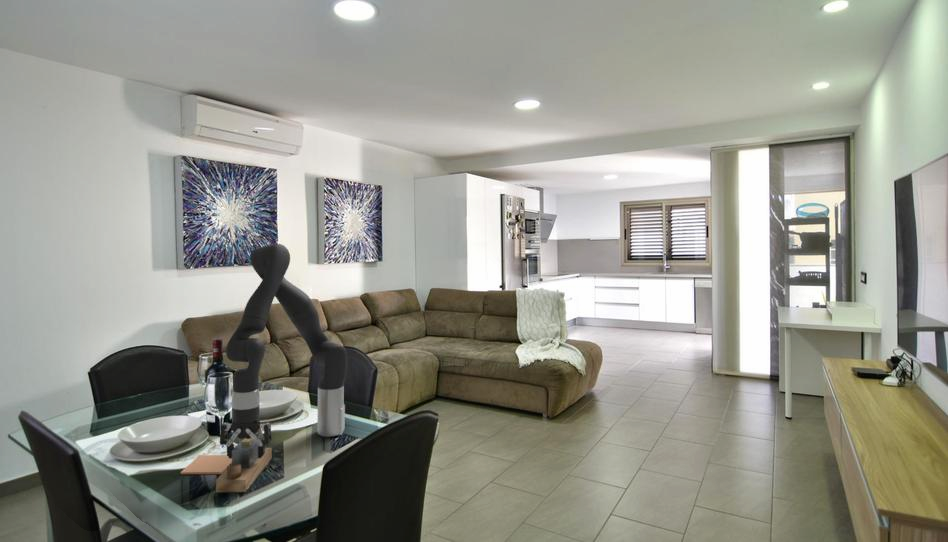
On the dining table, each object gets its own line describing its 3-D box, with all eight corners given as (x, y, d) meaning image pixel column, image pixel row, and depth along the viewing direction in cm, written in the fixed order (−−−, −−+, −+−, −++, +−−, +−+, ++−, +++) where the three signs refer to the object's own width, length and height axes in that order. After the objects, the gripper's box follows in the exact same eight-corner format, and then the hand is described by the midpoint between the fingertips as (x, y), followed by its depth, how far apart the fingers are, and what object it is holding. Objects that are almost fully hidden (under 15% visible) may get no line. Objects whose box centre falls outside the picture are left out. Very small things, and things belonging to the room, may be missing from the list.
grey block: (259, 456, 156) (259, 436, 155) (249, 468, 148) (249, 446, 147) (242, 456, 155) (242, 436, 155) (231, 468, 147) (231, 446, 147)
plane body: (271, 458, 163) (271, 438, 162) (245, 492, 141) (245, 469, 141) (246, 458, 162) (246, 438, 162) (216, 492, 140) (215, 469, 140)
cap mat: (237, 456, 163) (237, 455, 163) (221, 474, 151) (221, 472, 151) (199, 457, 162) (199, 455, 162) (180, 474, 150) (180, 472, 150)
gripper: (274, 400, 155) (274, 452, 156) (226, 400, 154) (226, 452, 155) (266, 408, 147) (265, 462, 148) (215, 408, 146) (215, 463, 147)
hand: (245, 457), depth 151 cm, fingers open, 8 cm apart
